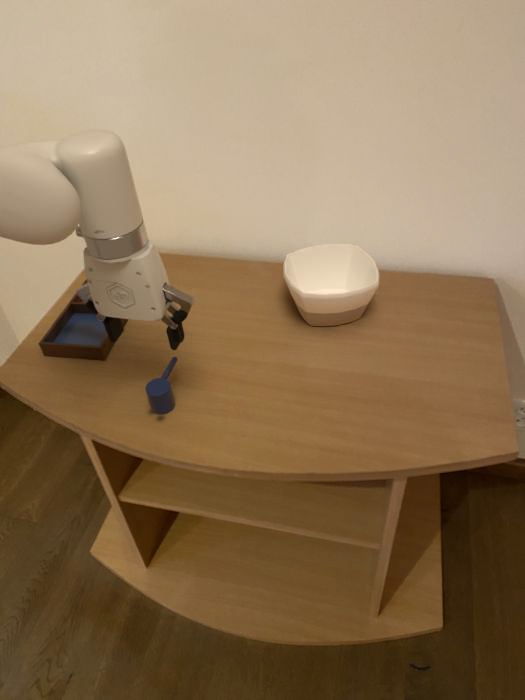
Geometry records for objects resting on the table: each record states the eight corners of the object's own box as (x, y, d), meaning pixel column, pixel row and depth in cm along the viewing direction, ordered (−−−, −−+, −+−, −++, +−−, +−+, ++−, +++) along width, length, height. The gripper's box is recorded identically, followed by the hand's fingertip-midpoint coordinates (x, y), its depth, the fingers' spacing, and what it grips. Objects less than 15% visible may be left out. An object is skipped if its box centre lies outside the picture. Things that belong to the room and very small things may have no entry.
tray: (104, 360, 93) (100, 347, 91) (44, 355, 95) (38, 343, 93) (149, 282, 112) (146, 270, 110) (98, 280, 114) (94, 268, 112)
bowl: (276, 288, 107) (274, 249, 101) (358, 277, 108) (361, 237, 102) (294, 342, 94) (293, 301, 87) (387, 328, 95) (392, 287, 89)
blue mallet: (169, 416, 82) (164, 397, 79) (147, 412, 83) (141, 393, 80) (190, 375, 89) (186, 356, 86) (169, 372, 90) (164, 353, 87)
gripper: (39, 248, 63) (82, 350, 74) (168, 258, 59) (193, 364, 70) (71, 218, 68) (106, 318, 79) (191, 226, 64) (210, 330, 75)
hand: (147, 340), depth 75 cm, fingers open, 9 cm apart
